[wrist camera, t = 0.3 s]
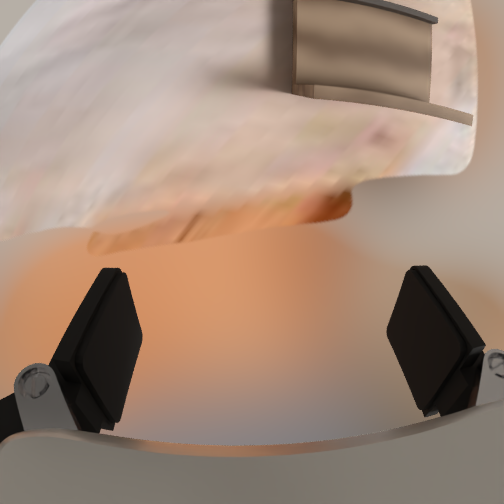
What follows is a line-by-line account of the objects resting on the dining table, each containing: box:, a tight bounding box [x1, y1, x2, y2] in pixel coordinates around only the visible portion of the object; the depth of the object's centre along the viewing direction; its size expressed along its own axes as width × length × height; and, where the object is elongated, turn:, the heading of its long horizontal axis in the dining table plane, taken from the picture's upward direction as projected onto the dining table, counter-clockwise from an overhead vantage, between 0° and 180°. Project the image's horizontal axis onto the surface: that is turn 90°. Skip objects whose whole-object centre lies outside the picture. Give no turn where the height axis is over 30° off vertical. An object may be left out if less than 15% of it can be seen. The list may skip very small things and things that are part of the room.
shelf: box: [292, 0, 473, 126], centre depth 25 cm, size 13×17×12 cm
